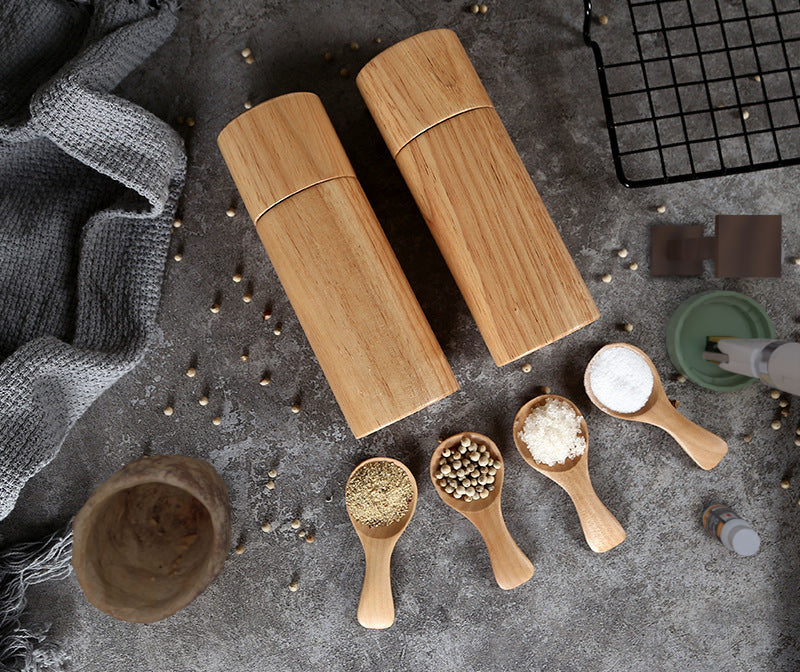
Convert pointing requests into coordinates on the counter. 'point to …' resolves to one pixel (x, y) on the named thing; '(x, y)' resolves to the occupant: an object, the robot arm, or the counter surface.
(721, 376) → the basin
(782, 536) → the counter surface
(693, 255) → the stand
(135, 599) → the brown pot
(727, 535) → the pill bottle
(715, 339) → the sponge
